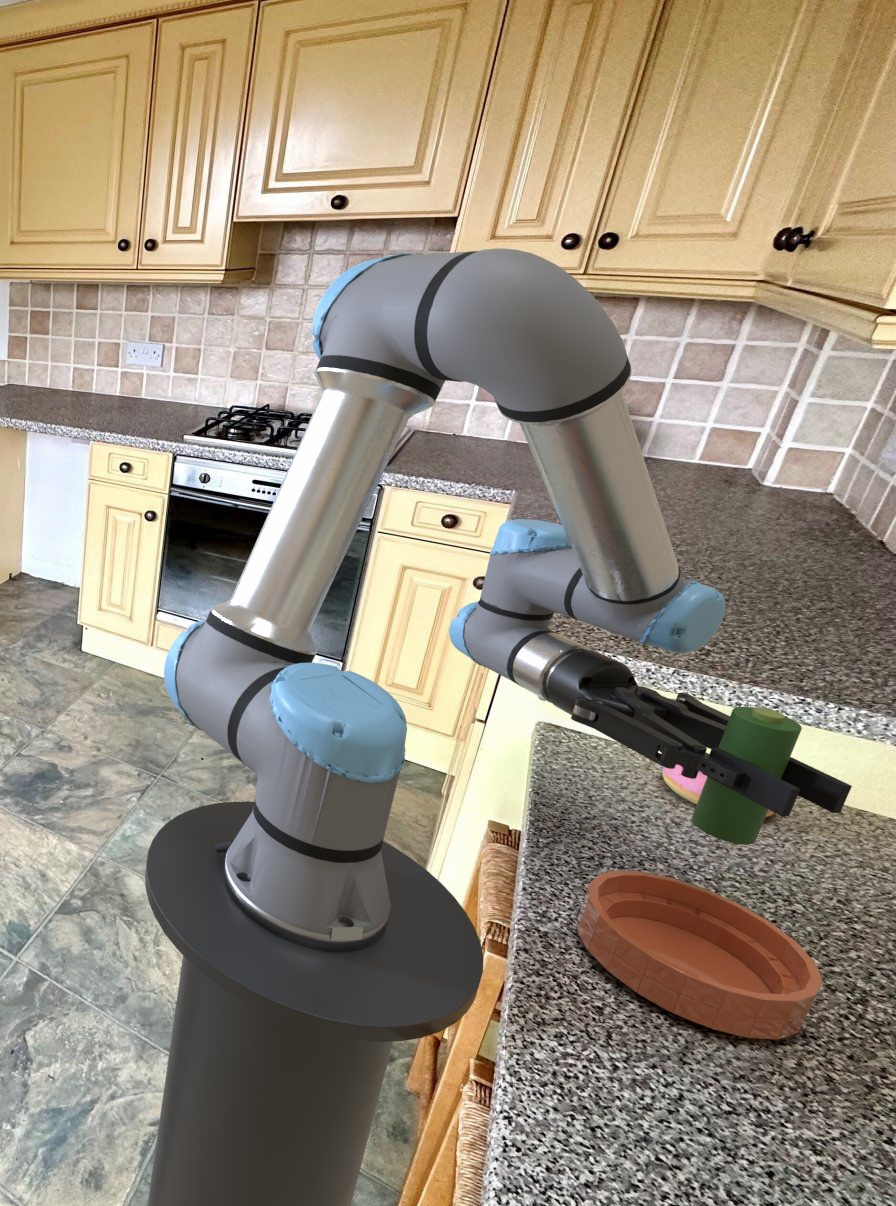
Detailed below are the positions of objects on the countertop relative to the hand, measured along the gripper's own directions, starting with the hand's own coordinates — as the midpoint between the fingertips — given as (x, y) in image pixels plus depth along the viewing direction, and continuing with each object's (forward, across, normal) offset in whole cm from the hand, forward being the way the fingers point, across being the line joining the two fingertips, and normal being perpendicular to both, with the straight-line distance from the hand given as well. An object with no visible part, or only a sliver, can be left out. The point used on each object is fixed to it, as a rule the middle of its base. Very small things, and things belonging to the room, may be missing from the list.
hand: (816, 800), depth 66 cm
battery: (-5, 0, -7) cm, 9 cm away
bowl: (-1, +6, -19) cm, 20 cm away
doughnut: (-25, -27, -19) cm, 41 cm away
